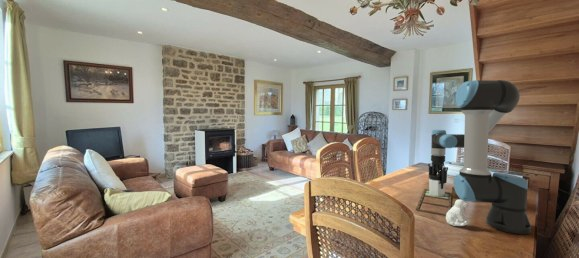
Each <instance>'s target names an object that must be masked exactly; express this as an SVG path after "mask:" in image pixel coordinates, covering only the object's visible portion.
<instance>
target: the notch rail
mask: <svg viewBox="0 0 579 258" xmlns="http://www.w3.org/2000/svg"><path fill="white" fill-rule="evenodd" d="M424 197H427V198H432V199H439V200H445V201H448V205H444V204H440V203H439V204H438V203H434V202H433V203H432V202H426V201H423V200H424ZM452 198H453V199H456V191H455V188H454V186H452V188H451V192H446V191H445V196H435V195H430V193H429V189H423V192H422V193H421V196H420V199H419V201H418V204H417V206H416V208H415V211H416V210H417V211H416V212H422V213H428V214H434V215H439V216H442V217H443V216H444V217H446V214H447V213H442V212H441V213H440V212H437V211H431V210H426V209H420V207H421V204H425V205H431V206H437V207H441V208H442V207H444V208H447V212H448V211H449V210H450V209H451V208H452V207H451V206H452Z"/></svg>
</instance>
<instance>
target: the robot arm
mask: <svg viewBox="0 0 579 258" xmlns="http://www.w3.org/2000/svg"><path fill="white" fill-rule="evenodd" d="M520 97H521V96H520V91H519V88H518V87H517V86H516V85H515V84H514V83H512V82H511V81H509V80H504V79H498V80H494V79H493V80H489V79H488V80H485V79H483V80H482V79H480V80H477V79H476V80H467V81H463V83H461V84H460V86H459V87H458V89H457V91H456V94H455V105H456V106H457V107H459V108H460V109H461V110H460V112H461V113H462V114H463V115H464V134H462V133H460V134H459V133H458V134H456V133H454V134H452V133H451V134H450V133H447V131H446V130H445V129H432V131H431V145H430V147H431V148H430V150H431V151H430V152H431V153H430V154H431V155H430V161H431V163H427V166H428V176H429V175H430V174H433V175H435V174H438V176H442V181H441V180H440V183H439V184H441V189H443V184H444V183H445V184H447V181H448V170H449V167H448V166H445V162H446V149H452V148H453V149H454V148H455V149H456V148H457V149H459V148H460V149H463V167H462V168H461V169H459V173H458V174H456V175H454V178H453V187H454V188H455V194H456V195H457V197H458V198H459V199H461V200H463V201H464V202H471V203H484V204H485V203H487V204H488V203H489V204H491V207H490V209H489V211H488V213H487V215H486V217H485V223H486V224H487V225H488V226H491V227H492V228H495V229H496V230H499V231H501V232H505V233H511V234H517V235H527V234H531V233H532V226H531V222H530V220H529V217H528V214H527V207H528V206H527V204H528V191H529V187H528V181H527V179H526V178H523V177H521V176H517V175H512V174H509V173H502V172H493V173H492V172H491V171H490V170H489V169H488V153H489V133H490V131H492V130H493V128H494V127H495V126H496V125H497V124H498V123H499V122H500V121H501V119H503V118H504V116H506V115H507V114H509V113H511V112H512V111H514V109H515V108H516V107H517V105H518V104H519V101H520Z"/></svg>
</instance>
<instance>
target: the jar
mask: <svg viewBox="0 0 579 258" xmlns="http://www.w3.org/2000/svg"><path fill="white" fill-rule="evenodd" d="M440 180H441V181H442V176H438V173H437V174H435V175H433V174H430V175H429V174H428V190H429V193H430V195H435V196H445V192H446V188H445V187H446V186H445V185H446V183H444V184H443V189H441V184H439V183H440Z"/></svg>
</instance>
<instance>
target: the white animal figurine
mask: <svg viewBox="0 0 579 258" xmlns="http://www.w3.org/2000/svg"><path fill="white" fill-rule="evenodd" d="M467 207H468V203H467V201H463V200H461V199H460V198H459V199H456V200H455V201H454V205H453V206H452V207H451V209H450V210H449V211H448V210H447V212H446V213H445V214H446V216H445V220H446V223H447V224H449V225H451V226H453V227H464V226H467V225H468V223H470V222H471V221H470V220H471V218H470V217H467V215H466V213H465V210H464V208H467Z"/></svg>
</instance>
